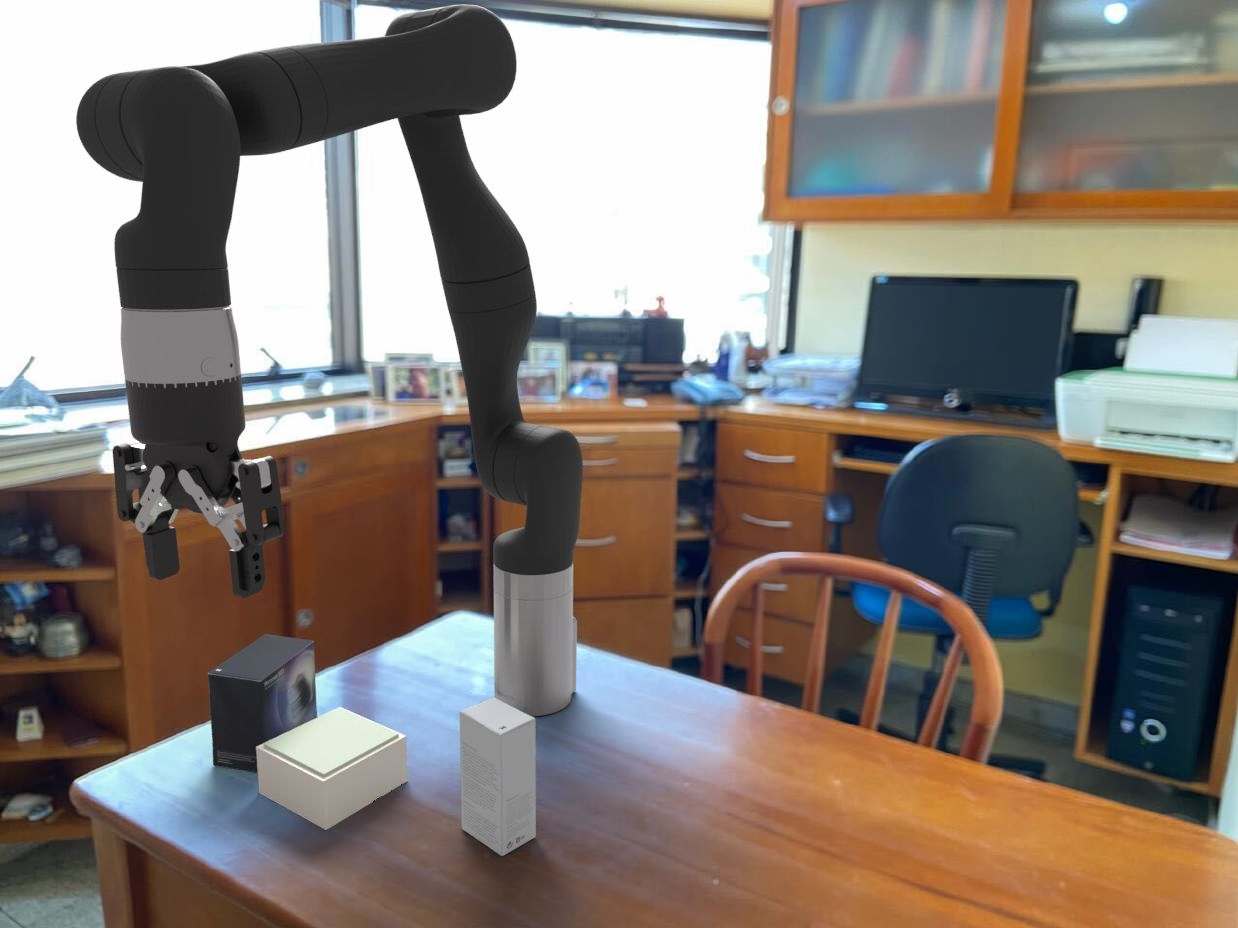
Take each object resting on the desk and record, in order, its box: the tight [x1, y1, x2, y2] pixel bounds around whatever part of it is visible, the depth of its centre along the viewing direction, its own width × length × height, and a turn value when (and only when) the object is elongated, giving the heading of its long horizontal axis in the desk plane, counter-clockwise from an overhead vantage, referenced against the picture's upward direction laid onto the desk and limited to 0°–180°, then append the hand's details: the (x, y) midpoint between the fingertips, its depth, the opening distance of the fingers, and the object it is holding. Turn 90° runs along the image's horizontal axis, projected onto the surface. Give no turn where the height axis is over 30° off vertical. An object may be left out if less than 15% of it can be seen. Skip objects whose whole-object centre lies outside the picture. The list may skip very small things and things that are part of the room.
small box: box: [207, 633, 318, 773], centre depth 97 cm, size 11×6×10 cm, turn 168°
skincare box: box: [459, 697, 537, 857], centre depth 83 cm, size 6×4×12 cm
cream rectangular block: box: [256, 706, 408, 831], centre depth 90 cm, size 10×10×5 cm
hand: (205, 585), depth 69 cm, fingers open, 8 cm apart
